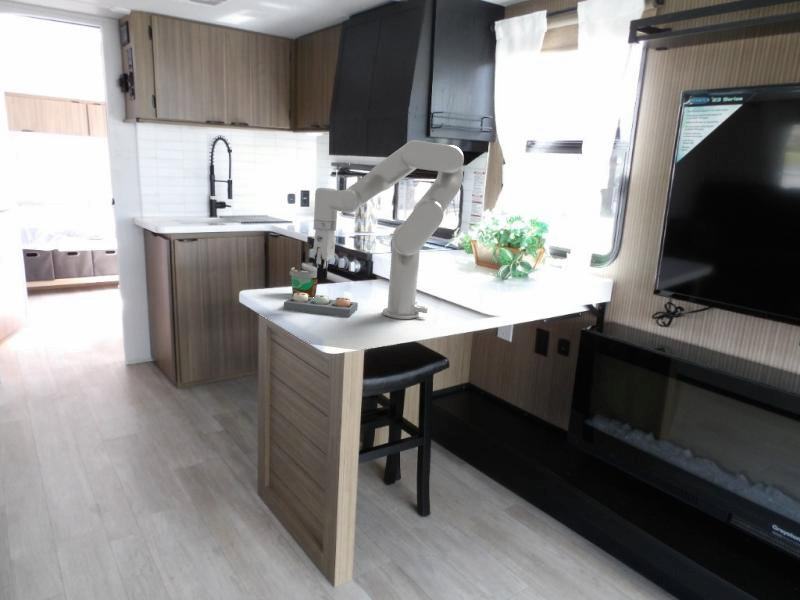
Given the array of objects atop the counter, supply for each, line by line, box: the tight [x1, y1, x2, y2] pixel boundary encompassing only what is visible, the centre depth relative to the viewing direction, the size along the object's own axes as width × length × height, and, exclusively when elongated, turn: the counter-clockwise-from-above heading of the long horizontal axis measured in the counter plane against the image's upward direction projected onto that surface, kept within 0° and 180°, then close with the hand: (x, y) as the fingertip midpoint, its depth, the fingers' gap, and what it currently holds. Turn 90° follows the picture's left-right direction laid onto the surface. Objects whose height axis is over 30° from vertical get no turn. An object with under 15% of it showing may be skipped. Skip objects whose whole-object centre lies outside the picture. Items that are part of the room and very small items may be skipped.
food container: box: [289, 266, 319, 297], centre depth 210 cm, size 12×6×10 cm, turn 62°
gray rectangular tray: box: [283, 295, 359, 318], centre depth 194 cm, size 23×11×3 cm, turn 80°
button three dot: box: [335, 296, 351, 308], centre depth 193 cm, size 5×5×3 cm
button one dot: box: [314, 294, 330, 305], centre depth 194 cm, size 5×5×3 cm
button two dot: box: [293, 293, 308, 303], centre depth 195 cm, size 5×5×3 cm
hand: (321, 279), depth 192 cm, fingers closed
